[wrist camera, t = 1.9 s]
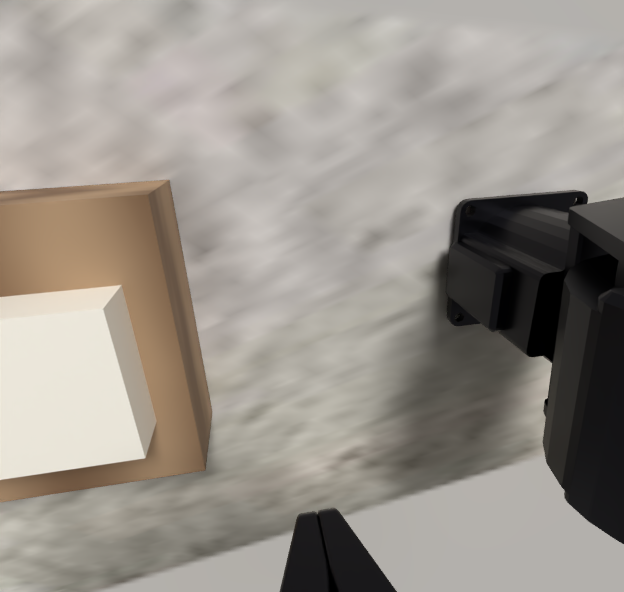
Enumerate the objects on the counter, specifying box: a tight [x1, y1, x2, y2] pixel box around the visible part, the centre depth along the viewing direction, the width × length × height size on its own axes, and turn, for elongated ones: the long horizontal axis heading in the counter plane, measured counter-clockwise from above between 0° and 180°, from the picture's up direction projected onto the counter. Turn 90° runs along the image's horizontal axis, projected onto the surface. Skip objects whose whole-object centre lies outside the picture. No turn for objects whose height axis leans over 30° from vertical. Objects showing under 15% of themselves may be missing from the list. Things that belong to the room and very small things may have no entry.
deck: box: [0, 180, 212, 502], centre depth 17 cm, size 11×12×4 cm
